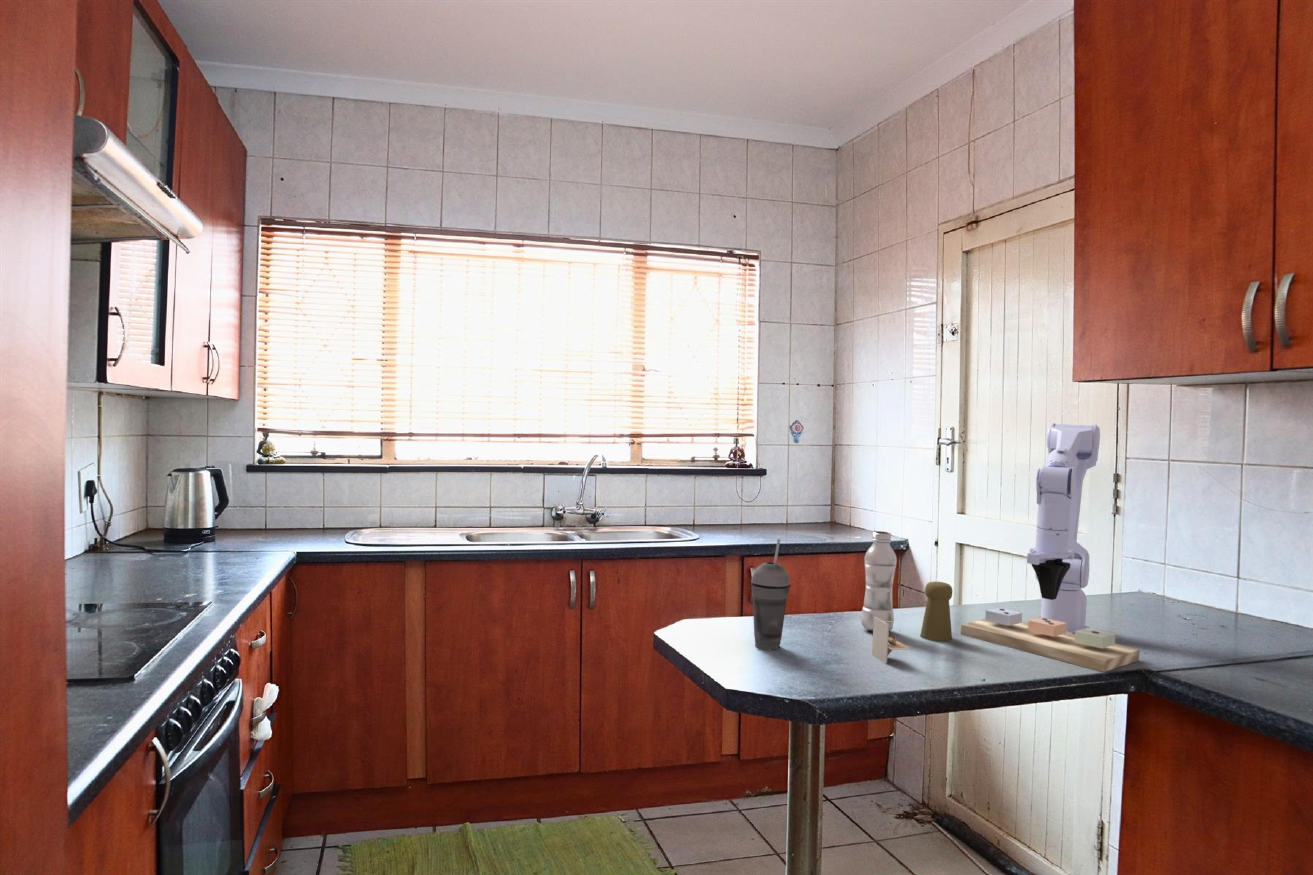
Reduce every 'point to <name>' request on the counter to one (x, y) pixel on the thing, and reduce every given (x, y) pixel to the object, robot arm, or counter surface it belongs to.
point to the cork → (937, 612)
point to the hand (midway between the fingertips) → (1048, 598)
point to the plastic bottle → (879, 580)
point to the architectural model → (884, 640)
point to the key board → (1052, 645)
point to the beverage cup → (769, 603)
